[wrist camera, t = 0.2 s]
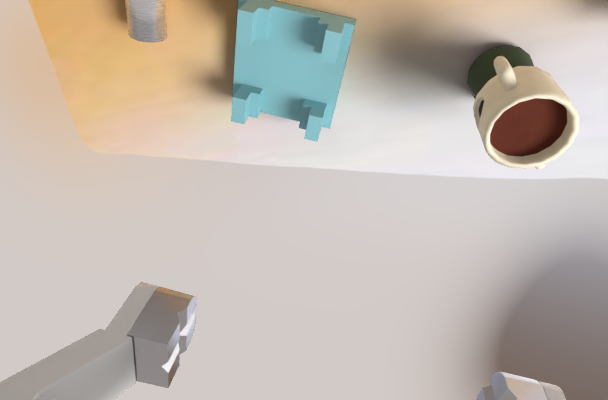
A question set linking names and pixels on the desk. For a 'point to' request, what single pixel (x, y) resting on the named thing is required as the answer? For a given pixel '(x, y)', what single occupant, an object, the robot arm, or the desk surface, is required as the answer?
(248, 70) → the teal cradle
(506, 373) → the robot arm
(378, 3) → the desk surface
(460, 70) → the desk surface
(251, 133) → the desk surface
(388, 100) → the desk surface
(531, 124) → the character mug
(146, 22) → the steel axle
